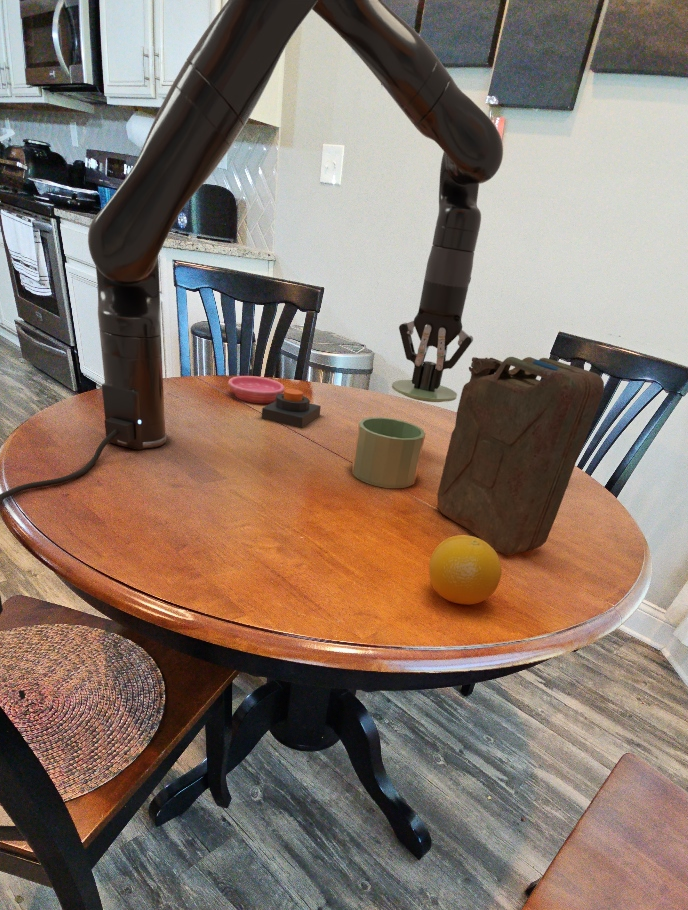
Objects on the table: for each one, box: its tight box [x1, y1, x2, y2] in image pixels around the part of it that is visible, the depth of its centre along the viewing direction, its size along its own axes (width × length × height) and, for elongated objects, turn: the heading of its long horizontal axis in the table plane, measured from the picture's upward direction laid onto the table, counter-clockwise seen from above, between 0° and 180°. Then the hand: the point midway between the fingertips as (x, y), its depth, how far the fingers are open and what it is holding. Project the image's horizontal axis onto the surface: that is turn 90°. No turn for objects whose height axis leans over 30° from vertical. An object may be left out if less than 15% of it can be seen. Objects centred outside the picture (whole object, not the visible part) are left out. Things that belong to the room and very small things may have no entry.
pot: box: [351, 416, 426, 489], centre depth 103 cm, size 11×11×8 cm
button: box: [283, 388, 304, 402], centre depth 123 cm, size 4×4×2 cm
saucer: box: [228, 375, 285, 405], centre depth 133 cm, size 12×12×3 cm
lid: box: [391, 360, 458, 403], centre depth 107 cm, size 12×12×6 cm
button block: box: [261, 392, 322, 429], centre depth 124 cm, size 11×9×4 cm
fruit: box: [428, 534, 502, 606], centre depth 72 cm, size 9×8×8 cm
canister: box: [436, 356, 605, 556], centre depth 85 cm, size 19×8×25 cm, turn 32°
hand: (424, 388), depth 108 cm, fingers closed on lid, 2 cm apart
